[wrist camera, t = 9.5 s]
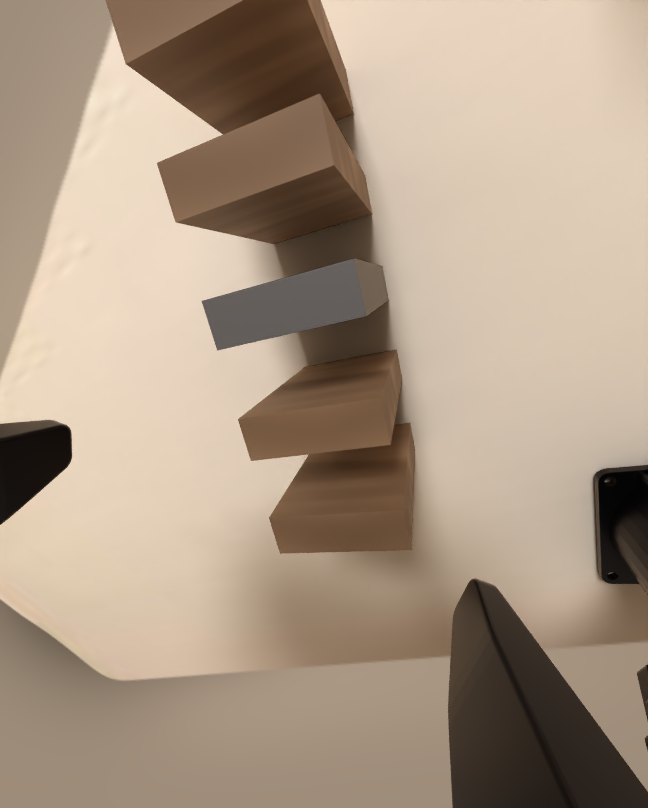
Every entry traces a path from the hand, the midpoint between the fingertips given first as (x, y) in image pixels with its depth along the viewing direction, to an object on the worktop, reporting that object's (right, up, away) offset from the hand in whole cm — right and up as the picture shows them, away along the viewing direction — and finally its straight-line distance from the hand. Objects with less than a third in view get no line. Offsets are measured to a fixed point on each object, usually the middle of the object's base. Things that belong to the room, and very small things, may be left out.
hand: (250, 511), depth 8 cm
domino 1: (0, +15, +9) cm, 17 cm away
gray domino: (+2, +8, +11) cm, 13 cm away
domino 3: (+3, +4, +12) cm, 13 cm away
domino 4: (+4, 0, +13) cm, 14 cm away
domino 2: (+1, +11, +10) cm, 15 cm away
